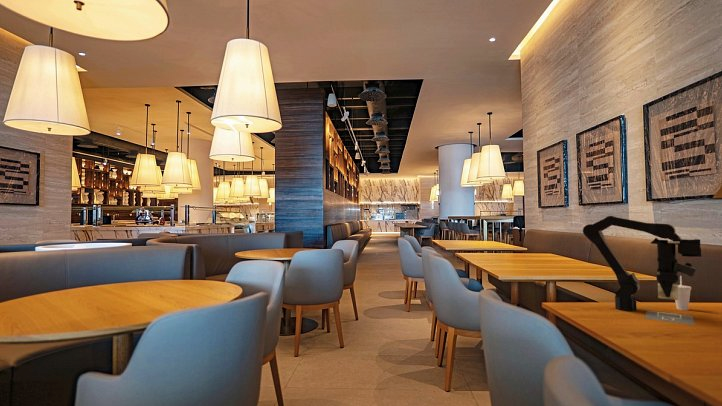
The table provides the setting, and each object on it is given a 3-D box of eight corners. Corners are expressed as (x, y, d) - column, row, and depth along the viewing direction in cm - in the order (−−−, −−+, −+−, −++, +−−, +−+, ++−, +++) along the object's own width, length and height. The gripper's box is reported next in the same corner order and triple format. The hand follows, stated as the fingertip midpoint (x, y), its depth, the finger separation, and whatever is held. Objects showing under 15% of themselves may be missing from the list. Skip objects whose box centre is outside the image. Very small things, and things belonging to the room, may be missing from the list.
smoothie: (690, 308, 158) (689, 275, 158) (694, 311, 152) (692, 277, 153) (671, 306, 161) (669, 274, 162) (674, 309, 156) (672, 276, 156)
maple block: (658, 297, 144) (657, 285, 144) (658, 295, 149) (658, 282, 149) (678, 300, 140) (678, 286, 141) (678, 297, 145) (677, 284, 145)
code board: (645, 320, 140) (645, 318, 140) (647, 312, 152) (646, 310, 152) (694, 327, 131) (694, 324, 131) (692, 318, 143) (692, 316, 143)
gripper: (695, 259, 133) (697, 303, 132) (692, 255, 147) (694, 294, 147) (655, 257, 140) (657, 298, 139) (657, 253, 154) (658, 290, 154)
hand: (667, 295), depth 145 cm, fingers closed on maple block, 6 cm apart
